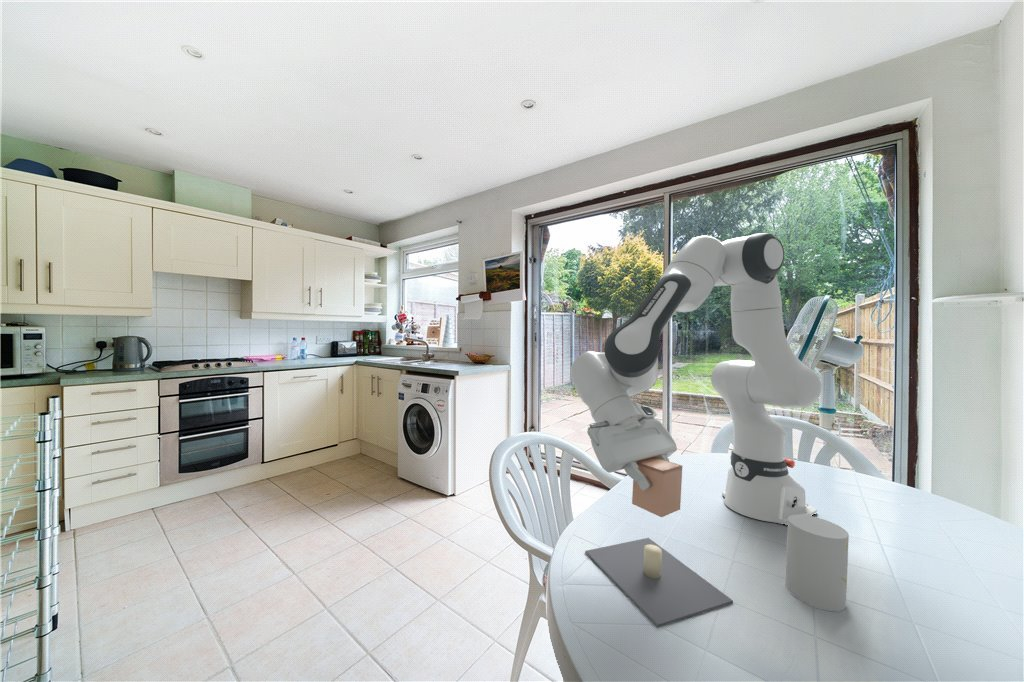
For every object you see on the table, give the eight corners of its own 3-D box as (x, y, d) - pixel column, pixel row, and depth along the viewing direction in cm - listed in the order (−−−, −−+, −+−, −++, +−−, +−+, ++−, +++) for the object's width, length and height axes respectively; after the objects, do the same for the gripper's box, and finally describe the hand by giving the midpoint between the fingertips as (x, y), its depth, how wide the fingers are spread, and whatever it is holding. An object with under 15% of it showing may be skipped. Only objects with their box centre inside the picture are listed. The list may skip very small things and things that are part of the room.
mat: (648, 539, 79) (649, 517, 79) (733, 603, 61) (734, 573, 61) (585, 552, 74) (586, 528, 74) (657, 627, 55) (658, 595, 55)
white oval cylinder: (858, 615, 59) (861, 541, 59) (801, 606, 60) (804, 534, 60) (826, 582, 67) (828, 517, 67) (776, 575, 68) (778, 512, 68)
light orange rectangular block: (650, 496, 71) (652, 456, 71) (680, 509, 66) (682, 465, 66) (632, 503, 68) (634, 460, 68) (661, 517, 63) (663, 471, 63)
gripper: (593, 415, 67) (636, 487, 59) (657, 407, 79) (700, 466, 71) (574, 433, 70) (613, 504, 62) (638, 423, 82) (677, 481, 74)
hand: (660, 484), depth 67 cm, fingers closed on light orange rectangular block, 6 cm apart
